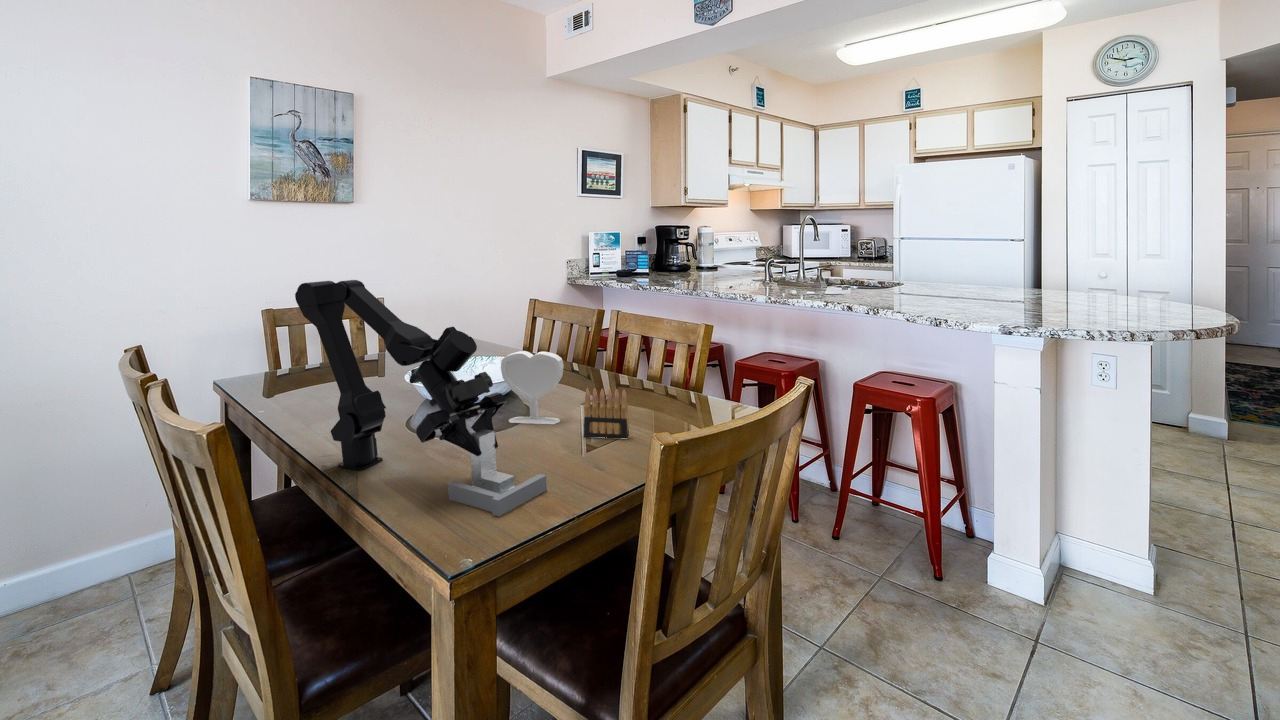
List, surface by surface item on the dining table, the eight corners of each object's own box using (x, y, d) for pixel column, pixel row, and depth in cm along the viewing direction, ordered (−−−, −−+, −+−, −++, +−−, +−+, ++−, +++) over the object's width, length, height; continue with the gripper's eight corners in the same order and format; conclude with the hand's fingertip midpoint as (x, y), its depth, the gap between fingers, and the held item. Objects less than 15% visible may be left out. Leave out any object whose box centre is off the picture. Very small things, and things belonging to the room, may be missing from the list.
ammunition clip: (629, 437, 151) (628, 388, 148) (627, 439, 149) (627, 390, 147) (585, 435, 152) (584, 386, 150) (583, 437, 151) (582, 388, 148)
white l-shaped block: (472, 485, 119) (469, 434, 117) (487, 478, 122) (484, 429, 120) (500, 493, 116) (497, 441, 113) (514, 485, 119) (512, 435, 117)
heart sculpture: (502, 422, 163) (498, 353, 159) (508, 416, 167) (505, 350, 164) (561, 424, 161) (559, 355, 157) (565, 418, 166) (563, 351, 162)
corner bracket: (445, 500, 116) (444, 485, 115) (495, 477, 126) (494, 462, 126) (499, 516, 109) (498, 500, 108) (546, 490, 120) (546, 475, 119)
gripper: (422, 370, 109) (472, 441, 106) (497, 352, 125) (543, 414, 122) (395, 407, 115) (442, 476, 112) (470, 386, 131) (513, 446, 127)
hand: (488, 451), depth 118 cm, fingers closed on white l-shaped block, 4 cm apart
